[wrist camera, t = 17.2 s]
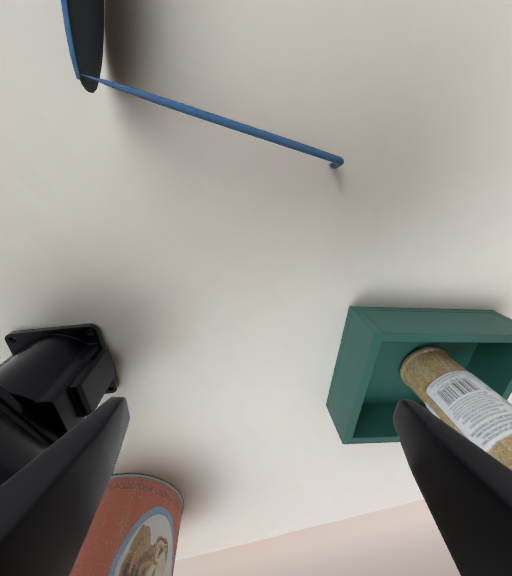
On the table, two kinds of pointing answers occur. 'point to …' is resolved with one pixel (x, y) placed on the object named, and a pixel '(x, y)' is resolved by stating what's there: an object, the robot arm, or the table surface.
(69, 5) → the sunglasses
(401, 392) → the tray
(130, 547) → the canned food
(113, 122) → the table surface
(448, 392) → the sprinkles bottle
